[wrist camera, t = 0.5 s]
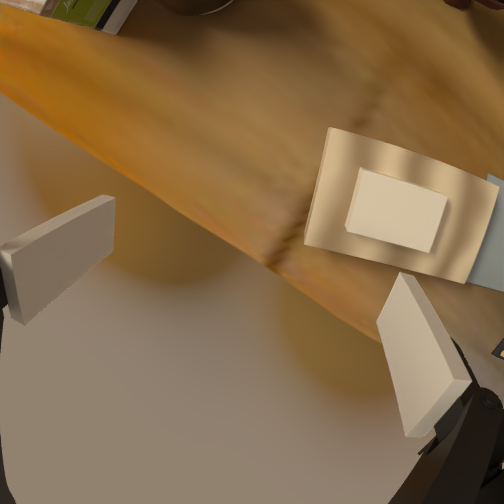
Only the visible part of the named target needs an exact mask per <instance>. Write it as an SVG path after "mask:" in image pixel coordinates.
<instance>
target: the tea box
mask: <svg viewBox="0 0 504 504" xmlns="http://www.w3.org/2000/svg"><path fill="white" fill-rule="evenodd" d="M137 2H138V0H0V4H4V5H8V6H11V7H15V8H18V9H22V10H25V11H28V12H31V13H34V14H38V15H41V16H44V17H48V18H53V19H57V20H62V21H66V22H70V23H74V24H78V25H82V26H85V27H89V28H93V29H96V30H99V31H103V32H106V33H110V34H113V35H116V34H117V33H118V31H119V30H120V28H121V26H122V25H123V23H124V22H125V20H126V18H127V17H128V15H129V14H130V12H131V11H132V9H133V8H134V6H135V5H136V3H137Z"/></svg>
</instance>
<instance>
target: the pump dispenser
mask: <svg viewBox="0 0 504 504" xmlns="http://www.w3.org/2000/svg"><path fill="white" fill-rule="evenodd" d="M156 1H157V2H158V3H159V4H160V5H161V6H162V7H163V8H165V9H166V10H168V11H170V12H172V13H175V14H178V15H185V16H194V15H204V14H209V13H212V12H215V11H218V10H220V9H222V8H224V7H225V6H227V5H228V4H230V3H231V2H232V1H233V0H156Z"/></svg>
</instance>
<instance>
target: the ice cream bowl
mask: <svg viewBox="0 0 504 504" xmlns="http://www.w3.org/2000/svg"><path fill="white" fill-rule="evenodd" d="M444 1H445V2H446V4H449V5H451V6H454V7H456V8H458V9H460V8H465V7H468V6H469V3H470V0H444ZM475 1H477V2H479V3H481V4H483V5H485V6H487V7H488V8H491V9H495V10H500V9H504V0H475Z"/></svg>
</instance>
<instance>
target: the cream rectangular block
mask: <svg viewBox="0 0 504 504" xmlns="http://www.w3.org/2000/svg"><path fill="white" fill-rule="evenodd" d="M447 198H448V196H446V195H444V194H442V193H441V192H438V191H435V190H433V189H430V188H427V187H424V186H421V185H418V184H415V183H412V182H409V181H406V180H402V179H399V178H396V177H393V176H390V175H386V174H383V173H380V172H376V171H373V170H369V169H366V168H362V167H360V169H359V173H358V177H357V181H356V185H355V189H354V193H353V197H352V201H351V204H350V208H349V212H348V215H347V219H346V223H345V227H346V230H347V232H351V233H355V234H359V235H363V236H367V237H371V238H375V239H379V240H382V241H386V242H390V243H394V244H398V245H401V246H405V247H409V248H412V249H416V250H420V251H423V252H427V253H429V251H430V249H431V246H432V243H433V241H434V238H435V235H436V232H437V229H438V226H439V223H440V220H441V217H442V214H443V211H444V208H445V204H446V201H447Z"/></svg>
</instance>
